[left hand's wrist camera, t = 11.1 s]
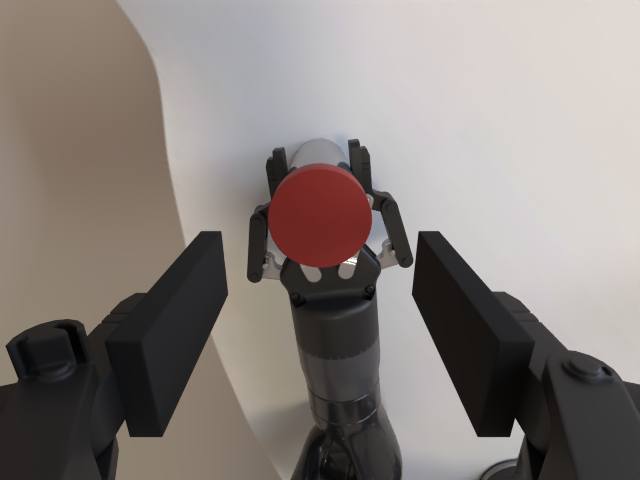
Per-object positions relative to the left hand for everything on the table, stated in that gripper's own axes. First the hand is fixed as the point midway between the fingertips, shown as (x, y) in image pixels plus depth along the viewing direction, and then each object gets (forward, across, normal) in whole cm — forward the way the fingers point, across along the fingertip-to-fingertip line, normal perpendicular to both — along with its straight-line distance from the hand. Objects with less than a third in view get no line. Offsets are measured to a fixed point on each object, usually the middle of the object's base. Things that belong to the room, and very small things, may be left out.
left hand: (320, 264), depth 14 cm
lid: (+6, 0, 0) cm, 6 cm away
